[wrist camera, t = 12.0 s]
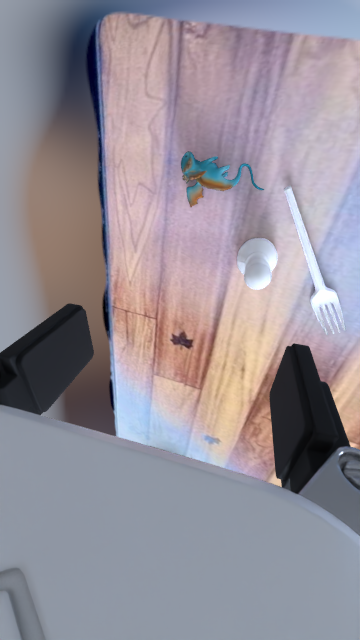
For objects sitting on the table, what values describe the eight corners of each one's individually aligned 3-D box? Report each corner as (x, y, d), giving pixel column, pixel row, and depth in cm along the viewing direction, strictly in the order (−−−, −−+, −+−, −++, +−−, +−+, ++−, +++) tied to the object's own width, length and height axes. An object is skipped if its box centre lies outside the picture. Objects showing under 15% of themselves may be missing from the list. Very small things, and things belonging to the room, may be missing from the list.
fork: (301, 178, 26) (304, 178, 25) (345, 322, 33) (350, 329, 32) (272, 194, 28) (273, 195, 26) (319, 329, 35) (323, 336, 33)
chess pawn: (277, 235, 30) (286, 254, 22) (275, 273, 32) (282, 302, 25) (236, 238, 31) (232, 258, 24) (237, 275, 34) (233, 303, 26)
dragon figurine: (247, 104, 24) (173, 136, 24) (275, 172, 24) (200, 203, 24) (234, 150, 30) (176, 175, 30) (256, 203, 30) (197, 227, 30)
